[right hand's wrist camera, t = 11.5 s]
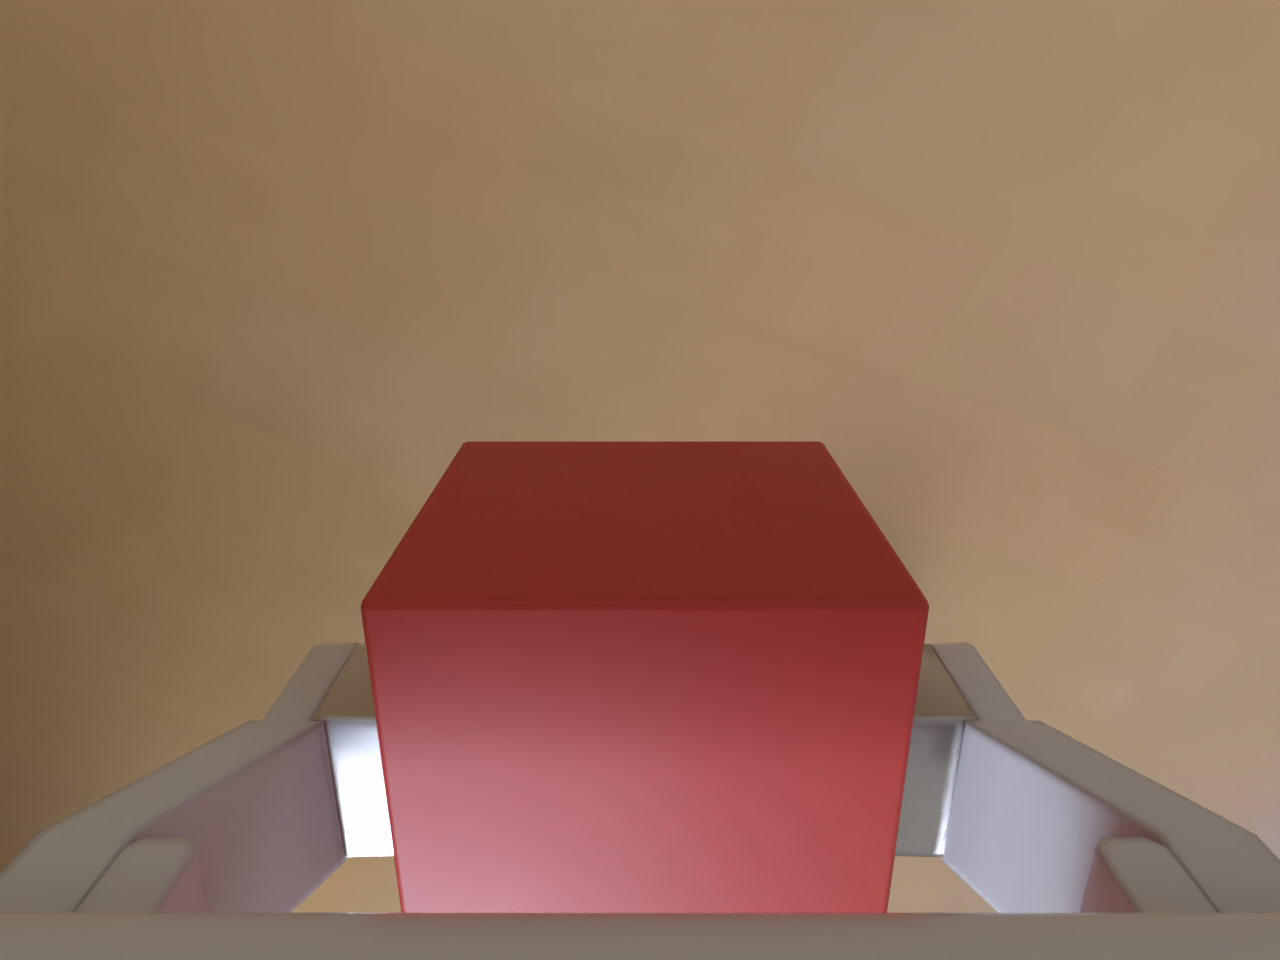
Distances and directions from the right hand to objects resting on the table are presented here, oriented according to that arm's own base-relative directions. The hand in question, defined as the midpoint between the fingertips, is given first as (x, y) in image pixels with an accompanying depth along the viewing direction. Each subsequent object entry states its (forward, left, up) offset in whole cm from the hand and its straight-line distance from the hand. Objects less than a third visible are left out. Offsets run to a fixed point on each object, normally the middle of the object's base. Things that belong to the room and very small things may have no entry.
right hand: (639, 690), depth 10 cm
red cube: (0, 0, -2) cm, 2 cm away
